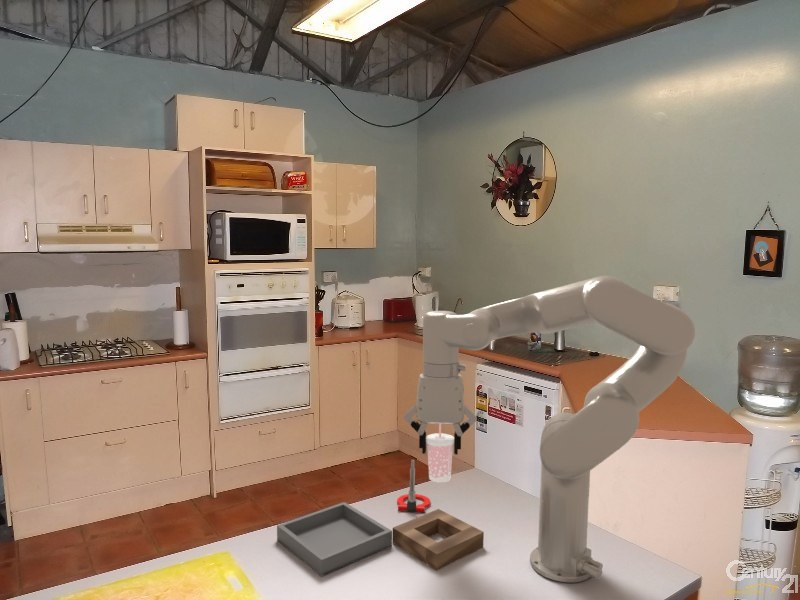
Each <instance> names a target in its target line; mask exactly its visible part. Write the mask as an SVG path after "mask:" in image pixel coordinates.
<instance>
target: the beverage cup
mask: <svg viewBox="0 0 800 600" xmlns="http://www.w3.org/2000/svg"><path fill="white" fill-rule="evenodd" d="M426 450H427V460H428V461H427V463H428V479H429V480H430V481H431V482H434V483H448V482H449V481H451V477H452V465H453V464H452V462H453V461H452V460H453V452H454V435H451V434H448V433H443V432H442V424H441V423H438V433H436V432H435V433H432V434H427V435H426Z"/></svg>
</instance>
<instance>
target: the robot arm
mask: <svg viewBox="0 0 800 600" xmlns="http://www.w3.org/2000/svg"><path fill="white" fill-rule="evenodd" d="M422 320H423V321H422V373H420V374H419V377H418V381H417V391H416V403H415V404H414V405H413V406H412V407H411V408H410V409H408V410H407V411H406V413H404V415H403V419H404V421H406V422H407V423H408V424H409V425H410V427H411V428H412V429H414V431H416V433H417V435H418V436H419V438H418V440H419V441H418V444H419V445H418V448H419V449H422V450H421V452H422V454H423V455H424V454H426V452H427V442H426V437H427V432H426V428H427V426H428V424H439V423H441V425H442V424H448V425H449V424H450V425H452V426H453V429H454V433H453V437H454V443H453V453H454V455H455V456H456V455H459V454H458V453H459V450H461V449H462V436H463V434H464V433H465V432H467V431H468V430H469V428H470V427H471V426H472V425H474V424H475V423H476V422H477V421H478V418H477V415H476V414H475V413H474V412H472V410H471V409H470V408H469V407H468V406H467V405H466V404H465V388H464V382H463V376H462V374H460V373H461V372H465V371H466V364H463V363H461V362H459V355H460V354H459V352H460V351H459V350H460V349H463V350H467V351H480V350H481V351H482V350H483V349H485V348H487V347H488V346H489V345H490V344H491V342H493V341H495V340H499V339H504V338H508V337H512V336H515V335H521V334H529V333H535V334H536V333H537V334H542V335H546V334H554V333H557V332H562V331H566V330H567V331H568V330H570V329H575V328H578V327H583V326H586V325H587V326H588V325H591V324H595V323H597V324H599V325H601V326H603V327H604V328H607V329H608V330H610V331H612V332H613V333H615V334H617V335H619V336H622V337H623V338H626V339H627V340H630V342H634V343H636V344H637V345H639V346H638V347H637V349H636V351H635V352H634V353H633V355H632V356H630V357H629V358H628V360H626V361H625V362H624V363H623V364H622V365H621V366H620V367H618V368H617V369H615V370H614V371H613V372H612V373H610V374H609V375H608V376H606V377H605V378H604V379H603V380H601V381H600V382H599V383H597V384H596V385H595V386H593V387H592V388H590V390H589V391H588V392H587V393H586V395H585V396H584V397H585V398H584V402H583V407H582V408H581V409H579V410H578V411H577V412H576V413H571V412H559V413H557V414H554V415H552V416H551V417H550V418H548V420H547V421H546V422H545V424H544V426H543V429H542V432H541V438H540V444H539V459H540V462H541V464H540V486H539V487H540V489H539V510H538V511H539V514H538V515H539V517H538V542H537V544H538V545H537V546H538V547H536V548H534V549H533V550H532V551H531V553H530V555H529V562H530V566H531V567H532V568H533V570H534V571H536V572H537V573H538V574H540V575H541V576H542V577H545V578H547V579H550V580H552V581H556V582H560V583H562V582H563V583H579V582H583V581H586V580H589V578H591V577H593V578H595V579H596V580H600V579H601V577H602V575H603V567H604V565H603V563H602V562H600V561H598V560H595V559H593V557H592V549H591V548H588V547H587V546H588V545H587V544H588V543H587V542H588V525H589V524H588V523H589V522H588V521H589V501H590V500H589V499H590V498H589V497H590V485H591V484H590V482H591V481H590V479H591V471H592V470H593V469H594V468H596V467H597V466H599V465H601V464H602V463H603V462H604V461H605V460H607V459H608V458H609V457H611V456H612V455H614V454H615V453H616V452H617V451H619V450H620V449H621V448H623V447H624V446H625V445H626V444H627V443H628V442H629V441H630V440H631V439H632V438H633V436H635V434H636V432H637V430H638V427H639V425H640V413H641V411H643V409H645V408H646V407H647V406H648V405H650V404H651V403H652V402H653V401H654V400H655V399H657V398H658V397H659V396H661V394H663V393H664V392H665V391H666V390H667V389H668V388H669V387H670V386H672V384H673V383H674V382H675V381H676V379H677V378H678V377H679V375H680V373H681V372H682V370H683V367H684V365H685V362H686V358H687V355H688V349H690V347H691V346H692V344H693V341H694V340H695V337H696V327H695V324H694V322H693V319H691V317H690V316H689V315H688V314H687V313H686V312H685V311H683V310H682V309H681V308H680V307H678V306H676V305H675V304H672V303H669V302H663V301H660V300H658V299H656V298H654V297H652V296H650V295H648V294H646V293H644V292H642V291H640V290H638V289H636V288H634V287H632V286H631V285H628V284H627V283H625V281H624V282H623V281H622V279H620V278H618V277H617V276H613V275H599V276H596V277H595V276H594V277H591V278H588V279H584V280H580V281H576V282H572V283H569V284H565V285H562V286H558V287H553V288H550V289H546V290H542V291H538V292H535V293H531V294H529V295H525V296H523V297H519V298H515V299H511V300H506V301H504V302H500V303H495V304H492V305H491V304H490V305H488V306H485V307H484V306H483V307H480V308H477V309H474V310H472V311H471V312H469V313H466V314H457V313H456V312H453V311H452V310H451V311H449V310H432V311H428V312H426V313H424V316H423V319H422ZM415 414H416V419H415V418H414V417H413V416H414V415H415ZM465 416H466V417H467V419H466V421H464V420H465ZM419 422H420V423H419ZM461 423H462V424H461Z"/></svg>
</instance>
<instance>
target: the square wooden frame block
mask: <svg viewBox="0 0 800 600" xmlns="http://www.w3.org/2000/svg"><path fill="white" fill-rule="evenodd" d="M436 534H439V535H441V536H442V535H443V536H442V537H444V536H445V537H444V539H442V540H440V541H436V540H435V539H433V538H431V537H433V536H435V535H436ZM432 535H433V536H432ZM392 544H394V545H395V546H397V547H399V549H401V550H403V551H405V552H406V553H408V554H409V555H411V556H412V557H414V558H416V559H417V560H419V561H421V562H422V563H424V564H425V565H426V566H428V567H431V568H432V569H433V570H435V571H436V572H437V571H439V570H441V569H444V568H445V567H447V566H450V565H452V564H453V563H455V562H457V561H459V560H461V559H463V558H465V557H466V556H469V555H471V554H473V553H474V552H477V551H479V550H481V549H483V548H484V531H482V530H480V529H479V528H476V526H473V525H471V524H469V523H468V522H465V521H463V520H462V519H459V518H457V517H455V516H453V515H451V514H449V513H447V512H445V511H443V510H441V509H439V508H438V509H435V510H433V511H430V512H428V513H424V514H423V515H420V516H418V517H415V518H413V519H411V520H408V521H406V522H403V523H401V524H398V525H396V526H393V527H392Z"/></svg>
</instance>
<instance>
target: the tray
mask: <svg viewBox="0 0 800 600" xmlns="http://www.w3.org/2000/svg"><path fill="white" fill-rule="evenodd" d="M276 540H277V542H279V543H280V544H281V545H282V546H283V547H284V548H286V549H287V550H289V552H290V553H292V554H293V555H294V556H296V557H297V558H298V559H299V560H300V561H302V562H303V563H304V564H306V566H307V567H309V568H310V569H311V570H313V571H314V572H315V573H317V574H318V575H319V576H320V577H321V578H323V577H324V576H327V575H329V574H332V573H334V572H336V571H338V570H341V569H343V568H345V567H348V566H349V565H352V564H354V563H356V562H359V561H362V560H364V559H365V558H368V557H370V556H373V555H375V554H377V553H380V552H382V551H384V550H387V549H389V548H391V547H393V530H391V529H390V528H387V527H386V526H385V525H383V524H381V523H380V522H378V521H376V520H375V519H374V518H371V517H370V516H368V515H366V514H365V513H363V512H362V511H360V510H359V509H357V508H355V507H353V506H352V505H350V504H349V503H347V502H345V501H344V502H340V503H337V504H335V505H331V506H328V507H326V508H323V509H321V510H317V511H315V512H311V513H309V514H308V513H307V514H305V515H303V516H300V517H296V518H294V519H291V520H288V521H285V522H283V523H280V524H278V525H276Z"/></svg>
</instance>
